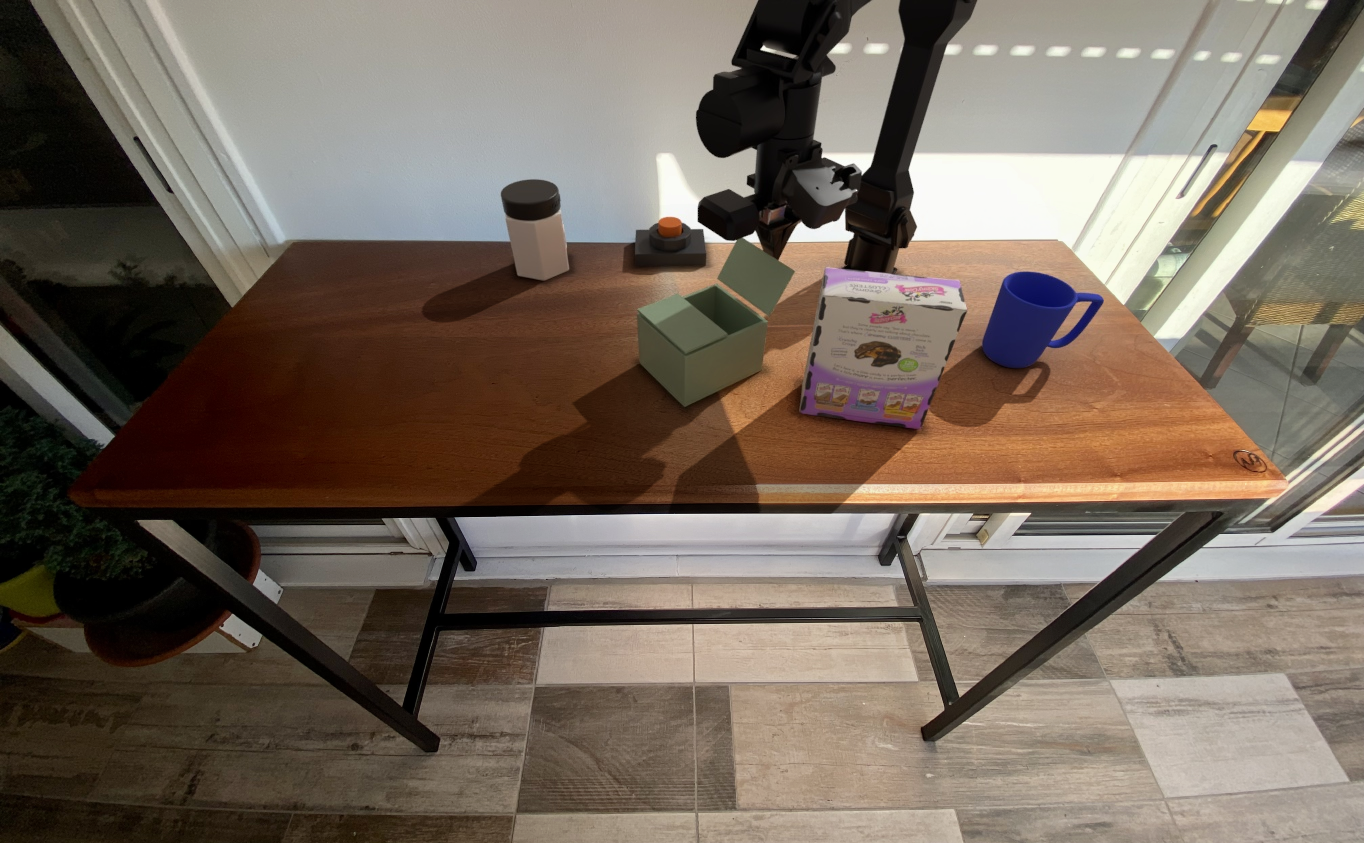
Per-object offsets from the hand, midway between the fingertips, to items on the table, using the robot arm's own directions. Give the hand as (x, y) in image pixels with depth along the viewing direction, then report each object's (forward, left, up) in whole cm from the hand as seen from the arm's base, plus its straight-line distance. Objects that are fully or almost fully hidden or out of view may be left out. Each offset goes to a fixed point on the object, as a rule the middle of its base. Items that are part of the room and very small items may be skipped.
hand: (771, 265), depth 72 cm
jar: (+37, +7, -11) cm, 39 cm away
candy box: (-16, +3, -11) cm, 20 cm away
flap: (+1, +3, 0) cm, 3 cm away
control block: (+24, -9, -11) cm, 28 cm away
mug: (-27, -20, -11) cm, 36 cm away
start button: (+24, -9, -7) cm, 27 cm away
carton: (+3, +10, -11) cm, 15 cm away
